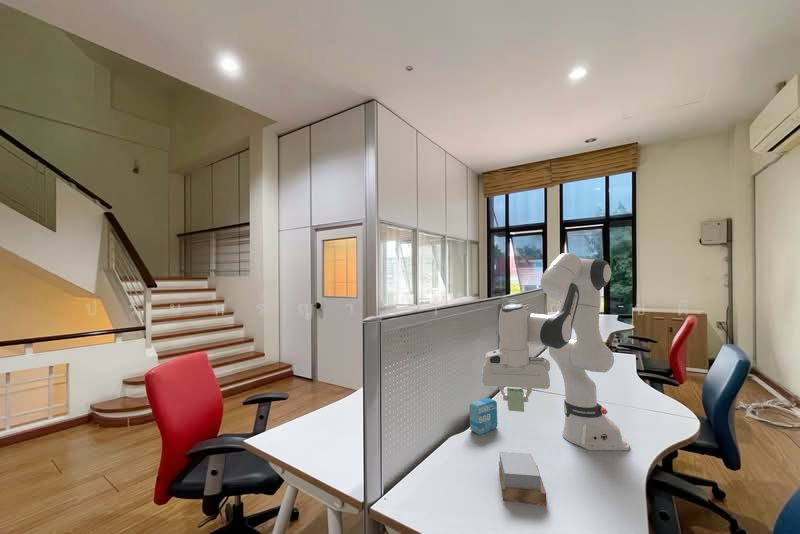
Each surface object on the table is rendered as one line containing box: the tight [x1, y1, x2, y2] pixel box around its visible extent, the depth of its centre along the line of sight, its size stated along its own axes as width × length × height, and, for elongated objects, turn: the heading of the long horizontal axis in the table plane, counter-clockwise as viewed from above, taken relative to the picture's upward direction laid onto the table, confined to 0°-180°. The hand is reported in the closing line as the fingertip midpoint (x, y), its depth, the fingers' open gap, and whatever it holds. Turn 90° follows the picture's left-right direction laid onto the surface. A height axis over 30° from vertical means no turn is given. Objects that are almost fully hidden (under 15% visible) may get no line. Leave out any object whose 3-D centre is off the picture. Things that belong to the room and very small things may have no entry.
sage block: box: [506, 387, 525, 413], centre depth 102 cm, size 4×4×6 cm
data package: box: [469, 397, 498, 435], centre depth 139 cm, size 12×4×12 cm, turn 122°
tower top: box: [499, 451, 542, 490], centre depth 101 cm, size 10×12×4 cm
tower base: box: [498, 461, 548, 507], centre depth 101 cm, size 12×14×4 cm
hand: (515, 400), depth 102 cm, fingers closed on sage block, 4 cm apart
